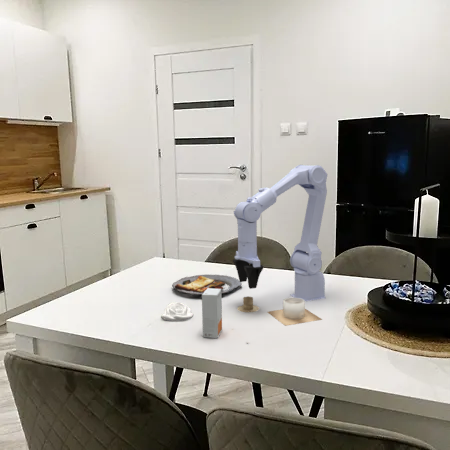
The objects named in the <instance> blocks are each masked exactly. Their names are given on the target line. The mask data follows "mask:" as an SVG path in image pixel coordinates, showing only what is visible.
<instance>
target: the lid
mask: <svg viewBox="0 0 450 450" xmlns="http://www.w3.org/2000/svg"><path fill="white" fill-rule="evenodd" d="M242 299H243V300H242V301H243V302H242V305H239V306H238V307H237V308H236V309H237V310H238V312H242V313H254V312H255V313H256V312H258V311H259V310H260V307H259V306H257V305H254V297H253V296H244V297H243V298H242Z"/></svg>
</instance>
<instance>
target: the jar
mask: <svg viewBox="0 0 450 450" xmlns="http://www.w3.org/2000/svg"><path fill="white" fill-rule="evenodd" d="M282 309H283V316H284V317H285V318H287V319H302V318H304V317H305V309H306V301H305V300H303V299H301V298H294V297H292V296H291V297H286V298H284V299H282Z"/></svg>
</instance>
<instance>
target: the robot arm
mask: <svg viewBox="0 0 450 450" xmlns="http://www.w3.org/2000/svg"><path fill="white" fill-rule="evenodd" d="M327 180H328V173H327V172H326V169H324V167H323V166H322V165H319V164H315V165H312V164H311V165H309V164H307V165H306V164H305V165H304V164H298V165H296V166H295V167H293V168H291V169H290V171H289V172H288V173H287V174H285V176H284V177H282V178H281V179H280V180H278V181H277V182H276V183H275V184H273V185H272V186H271V187H270V188H269V187H267V186H266V187H260V188H259V189H258V191H257V193H255V194H254V195H252V196H248V197H247V198H246V201H240V202H239V203H238V204H236V207H235V210H234V211H233V215H234V217H235V219H236V221H237V250H236V251H235V255H234V259H232V262H233V264H234V266H235V269H236V272H237V276H238V280H239V281H240V282H241V283H244V282H247V284H248V285H247V286H248V288H249V289H250V290H251V289H256V288H257V286H258V283H259V278H260V275H261V273H262V272H263V270H264V265H261V260H260V259H259V256H258V247H257V246H258V244H257V243H258V241H257V239H258V238H257V234H258V232H257V231H258V229H257V228H258V226H257V225H258V224H257V223H258V220H259V219H260V218H261V214H262V213H263V212H265V211H267V209H269V208H270V207H272V206H273V205H275V203H276V202H277V198H278V197H279V196H281V195H283V194H284V193H285V192H287V191H288V190H290V189H291V188H293V187H295V186H296V185H299V186H300V188H303V189H304V191H305V192H306V193H307V194H308V200H307V204H306V209H305V215H304V221H303V227H302V232H301V237H300V241H299V243H297V244H296V245H295V246H294V250H293V251H292V253H291V256H290V259H289V262H290V263H289V264H290V266H291V267H292V268H293V271H294V293H292V294H289V296H290V297H291V298H292V297H294V298H301V299H303V300H305V302H308V301H310V302H311V301H315V300H316V301H317V300H323V299H326V296H325V293H326V292H325V284H326V281H325V276H324V274H323V272H321V269H322V265H323V263H322V262H323V261H322V250H321V249H320V248H319V245H318V241H319V237H320V231H321V226H322V221H323V220H322V219H323V217H324V209H325V205H326V199H327V195H328V189H327Z"/></svg>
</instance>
